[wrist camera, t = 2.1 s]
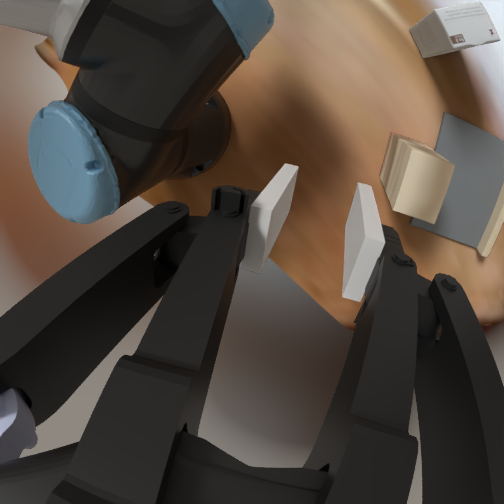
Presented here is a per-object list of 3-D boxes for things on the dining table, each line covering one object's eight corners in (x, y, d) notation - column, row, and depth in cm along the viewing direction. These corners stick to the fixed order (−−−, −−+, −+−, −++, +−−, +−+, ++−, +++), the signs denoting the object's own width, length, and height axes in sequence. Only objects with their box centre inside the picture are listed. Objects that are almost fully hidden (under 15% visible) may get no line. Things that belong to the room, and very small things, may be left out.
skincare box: (444, 20, 22) (481, -3, 12) (460, 52, 23) (503, 40, 13) (405, 30, 24) (431, 5, 14) (422, 61, 26) (455, 49, 16)
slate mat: (410, 223, 37) (413, 231, 35) (443, 112, 28) (450, 113, 26) (481, 248, 35) (486, 257, 32) (518, 149, 26) (527, 154, 24)
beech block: (379, 175, 35) (393, 210, 25) (390, 131, 32) (412, 148, 22) (410, 185, 34) (434, 224, 24) (422, 143, 31) (455, 165, 21)
